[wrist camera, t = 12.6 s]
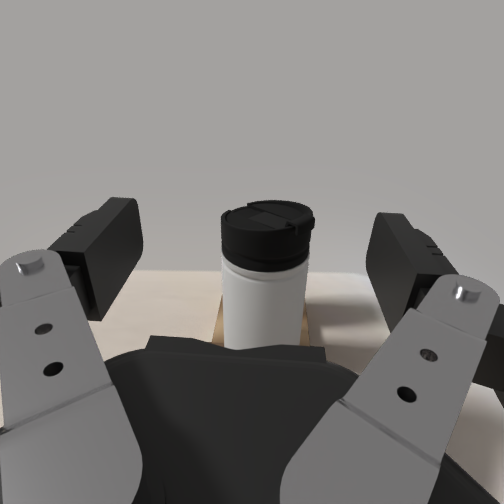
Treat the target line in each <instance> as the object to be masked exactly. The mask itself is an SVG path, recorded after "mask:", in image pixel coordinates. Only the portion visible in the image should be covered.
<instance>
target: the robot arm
mask: <svg viewBox="0 0 504 504" xmlns="http://www.w3.org/2000/svg"><path fill="white" fill-rule="evenodd" d="M142 251H143V236H142V230H141V223H140V216H139V209H138V204H137V201H136V200H135V199H134V198H118V197H111V198H110V199H109V200H108V201H107V202H106V203H105V204H103V206H101V207H100V208H99V209H98V210H96V211H93V212H91V213H89V214H87V215H85V216H83V217H81V218H80V219H79V220H78V221H77V222H76V223H75V224H74V226H71V227H70V228H69V229H68V230H67V232H66V233H64V234H63V235H62V236H61V237H60V238H58V239H57V240H56V241H55V242H54V243H53V244H52V245H51V246H50V247H49V248H48V249H47V250H32V251H27V252H23V253H20V254H17V255H15V256H13V257H11V258H9V259H7V260H6V261H5V262H3V263H2V264H1V265H0V380H1V392H2V404H3V416H4V426H3V427H1V428H0V504H500V503H499V502H498V501H497V500H496V499H495V498H494V497H492V496H491V495H490V494H489V493H488V492H487V491H486V490H485V489H484V488H483V487H482V486H481V485H480V484H478V483H477V482H476V481H475V480H474V479H473V478H472V477H471V476H470V475H469V474H468V473H467V472H466V471H464V470H463V469H462V468H461V467H460V466H459V465H458V464H457V463H456V462H455V461H454V460H453V459H452V458H450V457H449V456H448V455H447V454H446V453H445V450H446V447H447V444H448V442H449V439H450V437H451V434H452V431H453V429H454V426H455V424H456V421H457V418H458V416H459V413H460V411H461V408H462V406H463V403H464V400H465V398H466V395H467V393H468V390H469V387H470V385H471V382H473V383H476V384H479V385H482V386H485V387H489V388H492V389H494V391H495V393H496V395H497V397H498V399H499V401H500V402H501V404H502V406H503V408H504V305H503V304H499V303H500V299H499V296H498V294H497V293H496V292H495V291H494V290H493V289H492V288H491V287H489V286H488V285H486V284H485V283H483V282H481V281H478V280H476V279H473V278H470V277H467V276H463V275H459V274H458V272H457V271H456V270H455V268H454V267H453V266H452V264H451V263H450V262H449V261H448V259H447V258H446V257H445V256H443V253H442V251H441V250H440V249H439V248H437V245H436V244H435V242H434V241H433V240H432V239H431V237H429V236H428V235H426V234H425V233H423V232H422V231H420V230H418V229H414V228H413V227H412V226H411V224H410V223H409V221H408V220H407V219H406V217H405V216H404V215H403V214H398V213H381V212H380V213H378V214H377V216H376V218H375V221H374V226H373V229H372V234H371V238H370V242H369V246H368V250H367V255H366V270H367V273H368V276H369V279H370V281H371V284H372V286H373V289H374V292H375V294H376V297H377V299H378V302H379V305H380V307H381V310H382V312H383V315H384V317H385V320H386V323H387V325H388V328H389V330H390V333H391V334H390V335H389V337H388V338H387V339H386V341H385V342H384V343H383V345H382V346H381V347H380V349H379V350H378V352H377V353H376V354H375V356H374V357H373V358H372V360H371V361H370V362H369V364H368V365H367V366H366V368H365V369H364V371H363V372H362V373H361V375H360V376H359V375H357V374H356V373H354V372H352V371H351V370H349V369H346V368H344V367H342V366H340V365H337V364H335V363H332V362H328V361H326V356H325V349H324V347H314V346H300V345H285V344H279V345H271V346H264V347H256V348H249V349H241V350H234V349H229V348H226V347H222V346H219V345H215V344H212V343H208V342H204V341H201V340H197V339H194V338H182V337H167V336H153V335H151V336H150V338H149V341H148V343H147V345H146V348H145V349H139V350H134V351H130V352H127V353H124V354H121V355H118V356H115V357H113V358H111V359H108V360H106V361H105V362H104V361H103V359H102V356H101V354H100V351H99V349H98V346H97V344H96V341H95V338H94V336H93V333H92V331H91V328H90V326H89V323H88V321H87V320H89V321H102V319H103V318H104V316H105V314H106V313H107V311H108V310H109V308H110V306H111V305H112V303H113V301H114V300H115V298H116V297H117V295H118V293H119V292H120V290H121V288H122V287H123V285H124V284H125V282H126V280H127V279H128V277H129V275H130V274H131V272H132V271H133V269H134V267H135V266H136V264H137V262H138V261H139V259H140V257H141V255H142Z"/></svg>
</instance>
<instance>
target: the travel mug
mask: <svg viewBox="0 0 504 504" xmlns="http://www.w3.org/2000/svg"><path fill="white" fill-rule="evenodd" d="M314 224H315V218H314V217H313V212H312V210H311V209H310V208H309V207H307V206H305V205H303V204H300V203H296V202H290V201H282V200H280V201H279V200H268V201H267V200H266V201H256V202H251V203H247V206H245V207H240V208H237V209H234V210H232V211H231V210H228V211H226V212H225V213H223V214H222V216H221V238H222V247H221V257H222V258H221V263H222V293H223V322H224V347H226V348H229V349H234V350H241V349H249V348H256V347H264V346H271V345H279V344H285V345H299V344H300V335H301V326H302V317H303V308H304V299H305V290H306V281H307V273H308V260H309V254H310V253H309V242H310V238H311V230H312V229H313V228H314Z"/></svg>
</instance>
